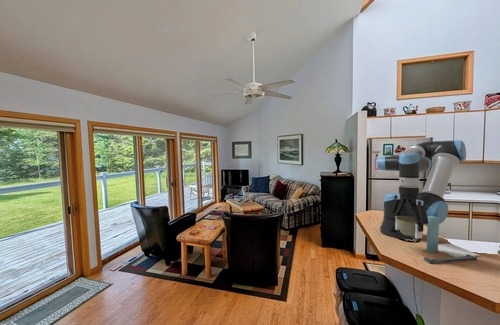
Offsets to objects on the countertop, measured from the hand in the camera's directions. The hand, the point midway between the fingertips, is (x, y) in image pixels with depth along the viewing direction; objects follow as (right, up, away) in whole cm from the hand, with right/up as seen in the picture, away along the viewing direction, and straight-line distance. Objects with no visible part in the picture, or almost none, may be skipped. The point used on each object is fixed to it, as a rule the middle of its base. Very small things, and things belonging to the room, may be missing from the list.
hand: (408, 233), depth 98 cm
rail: (+11, -9, -10) cm, 17 cm away
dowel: (+11, -8, -1) cm, 13 cm away
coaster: (+21, -8, 0) cm, 22 cm away
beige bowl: (0, -1, 0) cm, 1 cm away
